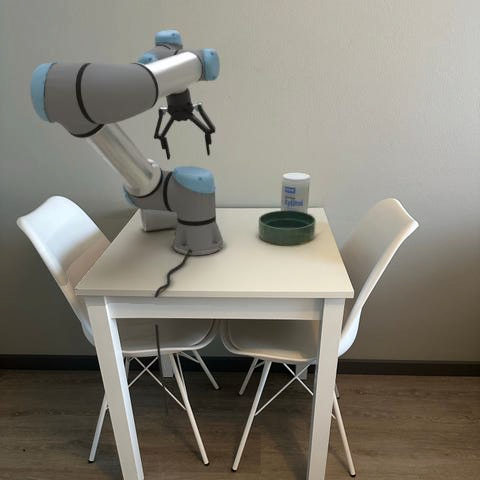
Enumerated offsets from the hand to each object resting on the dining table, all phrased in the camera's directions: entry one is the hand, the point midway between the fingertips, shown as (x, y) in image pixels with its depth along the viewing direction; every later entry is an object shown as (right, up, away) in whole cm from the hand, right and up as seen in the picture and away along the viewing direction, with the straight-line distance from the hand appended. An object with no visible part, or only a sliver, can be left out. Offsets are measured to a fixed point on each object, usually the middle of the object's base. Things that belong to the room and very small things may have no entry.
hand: (188, 155), depth 158 cm
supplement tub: (+37, -19, +9) cm, 42 cm away
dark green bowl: (+32, -28, -6) cm, 43 cm away
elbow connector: (-7, -23, +4) cm, 24 cm away
